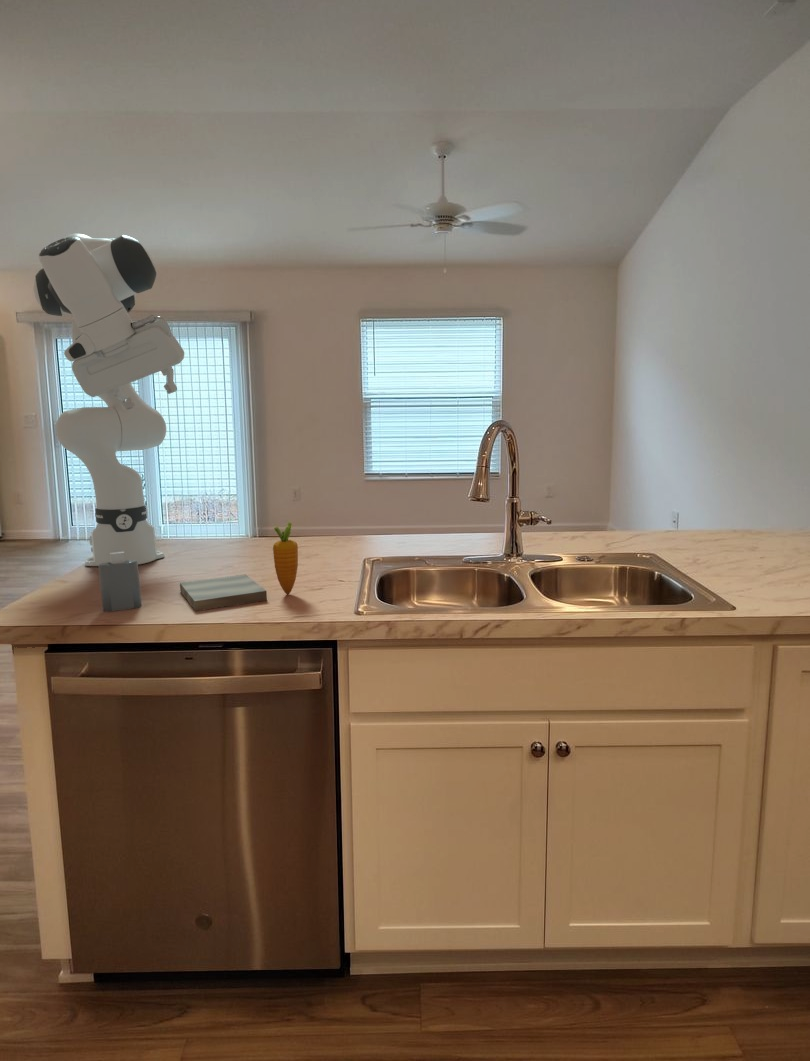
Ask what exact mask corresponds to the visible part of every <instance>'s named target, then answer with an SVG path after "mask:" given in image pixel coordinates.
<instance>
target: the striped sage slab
mask: <svg viewBox="0 0 810 1061" xmlns="http://www.w3.org/2000/svg"><path fill="white" fill-rule="evenodd" d="M179 588H180V590H179V591H181V592H182V593H181V592H180V593H181V595H182V596H183V595H184V596H185V597H184V596H183V597H184V598H185V599H187V600H188V601H187V600H186V601H187V602H188V604H189V603H190V604H191V605H190V604H189V605H190V606H191V607H193V608H194V609H193V608H192V609H193V611H194V612H198V611H197V610H200V611H205V610H204V609H207V610H212V609H211V608H214V609H218V607H220V608H225V607H224V606H227V607H231V606H230V605H233V606H238V605H237V604H240V605H244V604H243V603H247V604H251V603H259V601H260V602H265V600H267V601H268V599H267V598H268V597H267V596H268V595H267V590H266V589H265V588H263V586H261V585H259V583H257V582H256V581H255V580H253V579H252V578H251V577H250V576H249V575H247V574H246V573H245V574H244V573H243V574H238V575H237V574H236V575H229V576H221V577H212V578H207V579H200V580H191V581H183V582H182V581H181V582H179Z"/></svg>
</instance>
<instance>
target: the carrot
mask: <svg viewBox="0 0 810 1061" xmlns="http://www.w3.org/2000/svg"><path fill="white" fill-rule="evenodd" d="M292 525H293V523H292V522H289V521H288V523H287V525H286V527H285V529H284V530H282V531H281V530H280V528H279V526H274V527H273V529H274V531H275V532H276V534H277V535H278V537H279V539H280V540H278V541H275V543H274V544H273V547H272V551H273V563H274V569H275V574H276V576H277V580H278V582H279V585H280V587H281V590H283V592H284V594H285V595H288V594H289V595H290V593H292V590H293V588H294V586H295V582H296V580H297V573H298V567H299V566H298V565H299V562H298V561H299V554H298V553H299V551H298V549H299V547H298V543H297V542H296V541H295V540H292V539H289V537H290V535H291V532H292V531H291V530H292ZM289 595H288V596H289Z"/></svg>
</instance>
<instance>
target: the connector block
mask: <svg viewBox="0 0 810 1061" xmlns="http://www.w3.org/2000/svg"><path fill="white" fill-rule="evenodd" d="M110 557H111V562H108V563H102V564H99V565H98V566H97V567H98V574H99V575H98V576H99V585H100V595H101V605H102V611H103V612H105V611H110V612H117V611H123V610H132V609H136V608H137V609H138V608H140V607H142V597H141V596H142V595H141V585H140V574H139V573H140V572H139V564H138V562H137V560H126V561H125V557H124V552H115V553H110ZM116 610H117V611H116Z"/></svg>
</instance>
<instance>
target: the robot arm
mask: <svg viewBox="0 0 810 1061" xmlns="http://www.w3.org/2000/svg"><path fill="white" fill-rule="evenodd" d="M38 258H39V262H40V264H41V266H42V268H40V269H39V271H38V272H37V273H36V275H35V278H34V281H33V292H34V296H35V299H36V301H37V303H38V305H39V306H40V307H41V309H42V311H44V312H45V313H46V314H47V315H50V316H51V315H52V316H55V317H56V316H57V317H63V316H73V317H72V320H71V340H72V343H71V344H70V345H69V346H68V347H67V348H66V349H65V350H64V352H63V355H64V357H65V358H66V360H68V361H69V362H72V365H71V370H72V372H73V376H74V377H75V378H76V380H77V382H78V384H79V386H80V387H81V389H82V391H83V392H84V394H86V395H87V396H89V397H91V398H96V397H98V398H100V399H101V400H102V401H103V402H104V403H105V404H106V406H90V407H84V406H83V407H79V408H77V407H76V408H73V409H68V410H64V411H63V412H62V413H61V414H59V417H58V418H57V421H56V424H55V433H56V437H57V440H58V441H59V443H60V444H61V446H62V447H63V448H64V449H66V451H68V452H69V453H70V452H71V453H72V454H73V455H75V456H76V457H77V458H78V459H79V460H80V461H81V462H82V463H83V464H84V465H85V467H86V469H87V470H88V472H89V474H90V477H91V479H92V484H93V490H94V495H95V504H96V508H95V509H94V510H95V513H94V517H95V522H96V523H97V524H96V526H95V528H94V529H92V531H91V532H90V534H91V535H89V539H88V540H89V546H91V547H90V551H91V554H90V555H89V556H88V558H87V559H86V560H85V561H84V562H85V563H84V566H86V567H98V565H99V564H102V563H108V562H111V557H110V553H115V552H124V557H125V561H126V560H137V562H138V565H142V564H143V565H144V564H146V563H150V562H152V561H156V560H158V559H162V558H165V553H164V552H162V551H160V550H157V549H158V548H157V540H156V533H155V527H154V526H153V525H152V524H150V523H149V522H148V520H147V519H148V510H147V506H146V504H144V500H145V499H144V490H143V489H144V488H143V479H142V477H141V475H140V473H139V472H138V471H137V470H135V469H133V468H132V467H130V466H128V465H125V464H122V463H121V462H119V460H118V457H117V454H116V453H117V452H130V451H143V450H149V449H151V448H155V447H159V446H160V445H161V444H162V443H163V441H164V440H165V438H166V435H167V425H166V421H165V419H164V417H163V415H162V414H161V413H160V412H159V411H158V410H157V409H156V408H153V407H152V406H150V405H149V404H147V402H146V401H144V399H142V397H141V396H140V395H139V394H138V393H137V391H136V389H135V388H134V387H133V385H132V383H133V382H136V381H138V380H141V379H144V378H146V377H148V376H151V375H153V374H157V373H159V372H161V374H162V376H164V377H166V383H165V384H164V386H163V388H164V390H165V391H166V393H167V394H168V395H170V394H174V393H175V392H177V390H178V386H177V385H176V384H175V381H174V376H175V375H174V368H173V367H174V366H177V365H179V364H181V362H183V360H184V358H185V350H184V349H183V347H182V346H181V344H180V343H179V341H178V340H177V338H176V337H175V335H174V334H173V333H172V330H171V328H170V326H169V324H168V322H167V321H166V319H165V318H163V317H161V316H155V315H154V314H153V315H148V316H147V317H145V318H143V319H140V320H139V319H138V320H137V321H133V319H132V318H131V316H130V314H129V313H130V312H131V311H132V310H133V308H134V307H135V305H136V301H137V297H138V296H137V295H138V294H141V293H144V292H146V291H148V290H152V289H153V286H154V284H155V281H156V278H157V271H156V266H155V263H154V260H153V258H152V257H151V255H150V253H149V251H148V250H147V248H145V246H144V245H143V244H142V243H141V242H140V241H139V240H138V239H136V238H133V237H131V236H129V235H125V234H122V235H120V236H118V237H116V238H114V237H113V238H111V237H110V238H102V237H101V238H99V237H98V238H97V237H96V238H95V237H91V236H88V235H86V234H82V233H70V234H67V235H65V236H63V237H61V238H60V239H58V240H56V241H54V242H51V243H49V244H48V245H47V246H45V247H43V248H42V249H41V250H40V252H39V254H38ZM89 562H90V563H89ZM85 564H86V565H85Z"/></svg>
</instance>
